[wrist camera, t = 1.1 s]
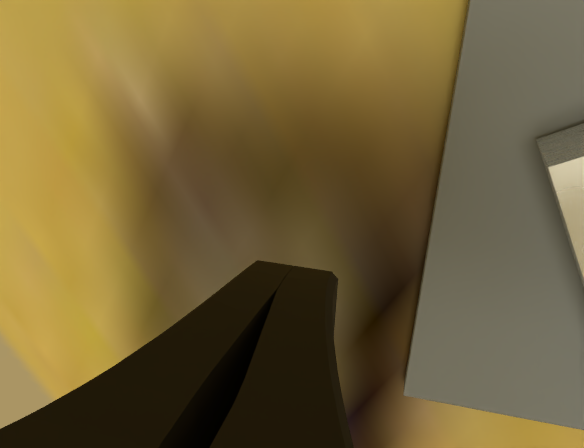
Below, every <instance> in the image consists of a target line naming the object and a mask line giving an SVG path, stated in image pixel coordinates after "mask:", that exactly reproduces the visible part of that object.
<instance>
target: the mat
mask: <svg viewBox="0 0 584 448" xmlns="http://www.w3.org/2000/svg"><path fill="white" fill-rule="evenodd" d="M583 123H584V0H469V1H468V7H467V13H466V19H465V25H464V31H463V37H462V43H461V49H460V54H459V60H458V66H457V72H456V78H455V84H454V90H453V96H452V102H451V108H450V114H449V120H448V126H447V132H446V138H445V144H444V150H443V156H442V162H441V167H440V173H439V179H438V185H437V191H436V197H435V203H434V209H433V215H432V221H431V227H430V233H429V239H428V245H427V251H426V257H425V263H424V269H423V275H422V280H421V286H420V292H419V298H418V304H417V310H416V316H415V322H414V328H413V334H412V340H411V346H410V352H409V358H408V364H407V370H406V376H405V383H404V396H410V397H415V398H420V399H425V400H430V401H436V402H441V403H446V404H451V405H456V406H462V407H467V408H472V409H477V410H482V411H488V412H493V413H498V414H503V415H508V416H514V417H519V418H524V419H529V420H534V421H540V422H545V423H550V424H555V425H560V426H565V427H571V428H576V429H581V430H584V287H583V284H582V281H581V278H580V275H579V271H578V268H577V265H576V262H575V259H574V256H573V253H572V250H571V247H570V243H569V240H568V237H567V234H566V231H565V228H564V225H563V222H562V219H561V215H560V212H559V209H558V206H557V203H556V200H555V197H554V194H553V191H552V187H551V184H550V181H549V178H548V175H547V172H546V169H545V166H544V163H543V159H542V156H541V153H540V150H539V147H538V144H537V141H536V139H539V138H542V137H545V136H548V135H551V134H554V133H557V132H560V131H563V130H566V129H568V128H571V127H574V126H577V125H580V124H583Z"/></svg>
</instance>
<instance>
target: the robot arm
mask: <svg viewBox="0 0 584 448" xmlns="http://www.w3.org/2000/svg"><path fill="white" fill-rule="evenodd" d="M337 285H338V278H337V277H336V276H335V275H334V274H333V273H332V272H331V271H324V270H317V269H311V268H304V267H298V266H291V265H285V264H278V263H272V262H265V261H259V260H257V261H256V262H255V263H253V264H252V265H250V266H249V267H248V268H246V269H245V270H244V271H243V272H241V273H240V274H239V275H237V276H236V277H235V278H234V279H232V280H231V281H230V282H229V283H227V284H226V285H225V286H224V287H222V288H221V289H220V290H219V291H217V292H216V293H215V294H213V295H212V296H211V297H210V298H208V299H207V300H206V301H205V302H203V303H202V304H201V305H199V306H198V307H197V308H195V309H194V310H193V311H191V312H190V313H189V314H187V315H186V316H185V317H183V318H182V319H181V320H179V321H178V322H177V323H175V324H174V325H173V326H171V327H170V328H169V329H167V330H166V331H165V332H163V333H162V334H160V335H159V336H158V337H156V338H155V339H153V340H152V341H150V342H149V343H147V344H146V345H144V346H143V347H141V348H140V349H138V350H137V351H135V352H134V353H132V354H131V355H129V356H128V357H127V358H125V359H124V360H122V361H121V362H119V363H118V364H116V365H115V366H113V367H112V368H110V369H108V370H107V371H105V372H103V373H102V374H100V375H99V376H97V377H95V378H94V379H92V380H90V381H89V382H87V383H85V384H84V385H82V386H80V387H78V388H77V389H75V390H73V391H71V392H70V393H68V394H66V395H64V396H62V397H61V398H59V399H57V400H55V401H53V402H52V403H50V404H48V405H46V406H45V407H43V408H41V409H39V410H37V411H35V412H33V413H31V414H30V415H28V416H26V417H24V418H22V419H20V420H18V421H16V422H14V423H12V424H10V425H7V426H5V427H3V428H1V429H0V448H354V447H353V443H352V439H351V435H350V431H349V427H348V422H347V418H346V413H345V408H344V403H343V399H342V394H341V388H340V383H339V377H338V371H337V363H336V355H335V347H334V325H335V312H336V299H337Z"/></svg>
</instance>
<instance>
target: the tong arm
mask: <svg viewBox="0 0 584 448" xmlns="http://www.w3.org/2000/svg"><path fill="white" fill-rule="evenodd" d="M536 141H537V144H538V147H539V150H540V153H541V156H542V159H543V163H544V166H545V169H546V172H547V175H548V178H549V181H550V184H551V187H552V191H553V194H554V197H555V200H556V203H557V206H558V209H559V212H560V215H561V219H562V222H563V225H564V228H565V231H566V234H567V237H568V240H569V243H570V247H571V250H572V253H573V256H574V259H575V262H576V265H577V268H578V271H579V275H580V278H581V281H582V284H583V287H584V123H583V124H580V125H577V126H574V127H571V128H568V129H566V130H563V131H560V132H557V133H554V134H551V135H548V136H545V137H542V138H539V139H536Z"/></svg>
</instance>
